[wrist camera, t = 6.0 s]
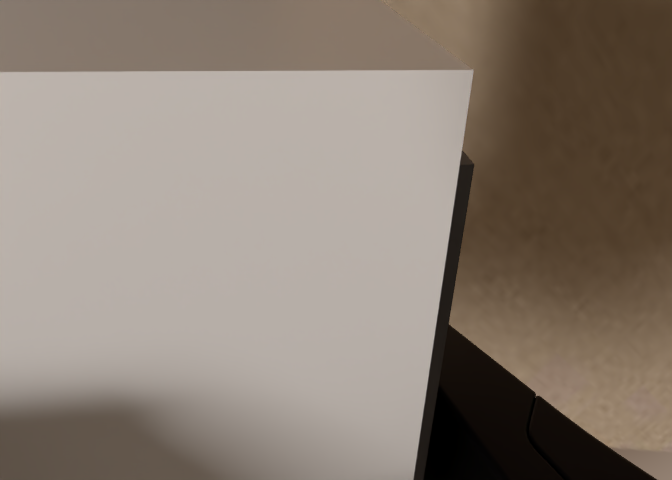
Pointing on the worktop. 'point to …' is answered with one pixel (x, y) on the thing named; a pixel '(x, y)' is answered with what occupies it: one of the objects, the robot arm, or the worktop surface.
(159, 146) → the white rectangular prism
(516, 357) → the worktop surface
